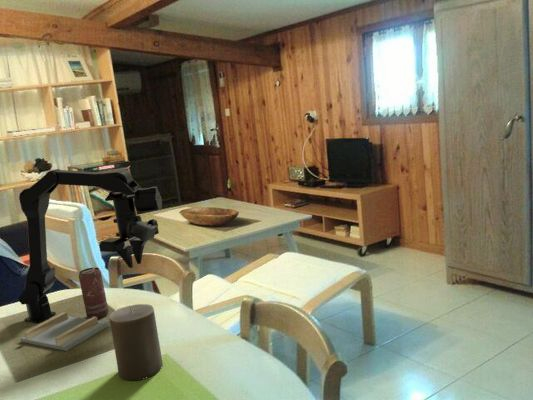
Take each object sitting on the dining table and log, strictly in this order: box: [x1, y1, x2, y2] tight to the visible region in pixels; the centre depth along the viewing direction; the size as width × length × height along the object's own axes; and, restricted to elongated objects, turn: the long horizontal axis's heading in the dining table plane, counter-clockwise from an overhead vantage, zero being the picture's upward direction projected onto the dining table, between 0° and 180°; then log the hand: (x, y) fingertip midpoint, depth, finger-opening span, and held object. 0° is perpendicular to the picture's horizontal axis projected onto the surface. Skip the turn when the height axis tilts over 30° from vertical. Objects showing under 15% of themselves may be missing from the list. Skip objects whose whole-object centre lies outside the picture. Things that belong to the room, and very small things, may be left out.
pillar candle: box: [109, 303, 164, 381], centre depth 111 cm, size 10×10×15 cm
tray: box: [20, 311, 110, 352], centre depth 136 cm, size 18×14×3 cm
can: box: [78, 266, 109, 320], centre depth 145 cm, size 6×6×14 cm
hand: (135, 265), depth 146 cm, fingers open, 3 cm apart
